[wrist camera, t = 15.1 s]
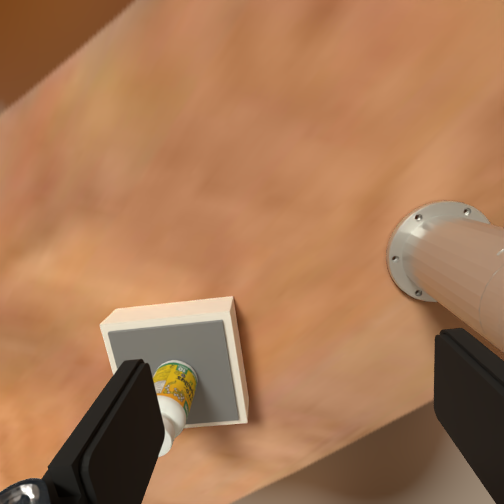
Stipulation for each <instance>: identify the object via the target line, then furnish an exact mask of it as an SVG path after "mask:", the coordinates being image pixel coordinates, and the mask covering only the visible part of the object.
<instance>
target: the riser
mask: <svg viewBox="0 0 504 504" xmlns="http://www.w3.org/2000/svg"><path fill="white" fill-rule="evenodd" d="M100 328H101V332H102V335H103V339H104V343H105V346H106V350H107V354H108V357H109V361H110V365H111V368H112V372H113V375H114V374H115V372H116V371H117V370H118V368H119V367H120V365H121V364H122V363H123V362H124V361H125V360H135V359H143V361H144V362H145V363H148V364H149V365H150V369H151V373H152V377H153V375H154V374H155V372H156V370H157V369H158V367H159V366H160V365H161V364H163V363H165V362H167V361H171V360H178V361H182V362H184V363H186V364H188V365H190V366H191V367H192V368H193V369H194V371H195V373H196V375H197V379H198V381H197V387H196V390H195V394H194V397H193V400H192V404H191V407H190V410H189V414H188V417H187V421H186V424H185V427H184V428H192V427H204V426H217V425H229V424H241V423H248V408H249V395H248V389H247V382H246V376H245V369H244V363H243V356H242V350H241V344H240V337H239V331H238V324H237V318H236V311H235V305H234V298H233V296H230V297H221V298H211V299H202V300H193V301H184V302H174V303H165V304H156V305H146V306H137V307H128V308H119V309H115V310H114V311H113V312H112V313H111V314H110V315H109V316H108V317H107V318H106V319H105V320H104V321H103V322H102V323H101V324H100Z"/></svg>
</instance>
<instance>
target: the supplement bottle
mask: <svg viewBox="0 0 504 504" xmlns="http://www.w3.org/2000/svg"><path fill="white" fill-rule="evenodd" d="M153 381H154V385H155V390H156V394H157V398H158V402H159V406H160V410H161V415H162V419H163V423H164V427H165V438H164V442H163V445H162V448H161V450H160V453H159V456H158V457H160V456H163V455H165V454H166V453H167V452H168V451H169V450H170V449H171V447H172V444H173V441H174V439H175V438H176V437H177V436H178V435H179V434H180V433H181V432H182V431H183V429H184V427H185V424H186V421H187V417H188V414H189V410H190V407H191V404H192V400H193V397H194V394H195V390H196V387H197V381H198V379H197V375H196V373H195V371H194V369H193V368H192V367H191V366H190V365H188V364H186V363H184V362H182V361H178V360H171V361H167V362H165V363H163V364H161V365H160V366H159V367H158V369H157V370H156V372H155V374H154V375H153Z"/></svg>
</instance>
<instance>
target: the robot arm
mask: <svg viewBox="0 0 504 504" xmlns="http://www.w3.org/2000/svg"><path fill="white" fill-rule="evenodd" d="M464 210H465V211H464ZM416 215H417V218H415V216H416ZM393 256H394V259H392V257H393ZM386 262H387V268H388V271H389V273H390V276H391V278H392V279H393V281H394V282H395V284H396V285H397V286H398V287H399V288H400V289H401V290H403V291H404V292H405V293H407V294H408V295H409V296H411V297H413V298H415V299H418V300H422V301H426V302H439V303H440V304H441V305H443V306H444V307H445V308H446V309H448V310H449V311H450V312H452V313H453V314H454V315H455V316H457V317H458V318H459V319H461V320H462V321H463V322H465V323H466V324H467V325H468V326H470V327H471V328H472V329H474V330H475V331H476V332H477V333H479V334H480V335H481V336H483V337H484V338H485V339H486V340H488V341H489V342H490V343H492V344H493V345H494V346H495V347H497V348H498V349H499V350H500V351H502V352H503V353H504V228H503V227H499V226H495V225H491V224H490V222H489V220H488V219H487V218H486V217H485V216H484V215H483V213H482V212H480V211H479V210H477V209H476V208H474V207H473V206H470V205H467V204H465V203H461V202H456V201H436V202H432V203H428V204H425V205H423V206H421V207H419V208H417V209H415V210H413V211H412V212H410V213H409V214H408V215H406V216H405V217H404V218H403V219H402V220H401V221H400V222H399V224H398V225H397V226H396V228H395V229H394V231H393V232H392V235H391V237H390V239H389V242H388V246H387V250H386ZM434 410H435V413H436V416H437V418H438V420H439V421H440V423H441V424H442V426H443V427H444V429H445V430H446V431H447V433H448V434H449V436H450V437H451V439H452V440H453V442H454V443H455V445H456V446H457V447H458V449H459V450H460V452H461V453H462V455H463V456H464V458H465V459H466V461H467V462H468V463H469V465H470V466H471V468H472V469H473V471H474V472H475V474H476V475H477V476H478V478H479V479H480V481H481V482H482V484H483V485H484V487H485V488H486V490H487V491H488V492H489V494H490V495H491V497H492V498H493V500H494V501H495V503H496V504H504V361H503V360H502V359H500V358H499V357H498V356H497V355H495V354H494V353H493V352H492V351H490V350H489V349H488V348H487V347H486V346H484V345H483V344H482V343H481V342H479V341H478V340H477V339H476V338H474V337H473V336H472V335H471V334H470V333H468V332H467V331H466V330H464V329H463V328H456V329H445V330H442V331H441V332H440V335H436V337H435V364H434ZM164 438H165V427H164V423H163V419H162V415H161V410H160V406H159V402H158V398H157V394H156V390H155V385H154V381H153V377H152V373H151V369H150V365H149V364H148V363H145V362H144V361H143V359H135V360H125V361H124V362H123V363H122V364H121V365H120V367H119V368H118V370H117V371H116V372H115V374H114V375H113V376H112V378H111V379H110V381H109V382H108V383H107V385H106V386H105V388H104V389H103V390H102V392H101V393H100V395H99V396H98V397H97V399H96V400H95V402H94V403H93V404H92V406H91V407H90V409H89V410H88V411H87V413H86V414H85V416H84V417H83V418H82V420H81V421H80V423H79V424H78V425H77V427H76V428H75V429H74V431H73V432H72V434H71V435H70V436H69V438H68V439H67V441H66V442H65V443H64V445H63V446H62V448H61V449H60V450H59V452H58V453H57V455H56V456H55V457H54V459H53V460H52V462H51V463H50V464H49V466H48V470H47V472H46V473H45V475H44V476H43V478H42V479H39V478H29V479H26V480H22V481H19V482H17V483H15V484H13V485H10V486H9V487H7V488H6V489H4V490H3V491H1V492H0V504H141V503H142V500H143V497H144V495H145V492H146V489H147V486H148V484H149V481H150V478H151V475H152V472H153V470H154V467H155V464H156V461H157V459H158V456H159V453H160V450H161V448H162V445H163V442H164Z"/></svg>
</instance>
